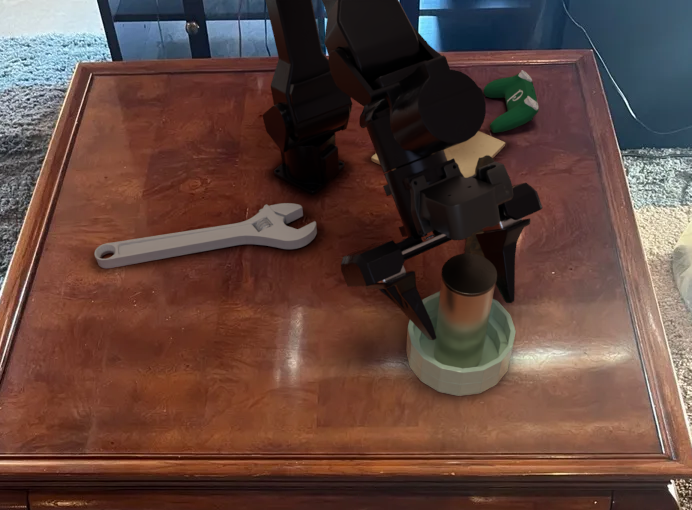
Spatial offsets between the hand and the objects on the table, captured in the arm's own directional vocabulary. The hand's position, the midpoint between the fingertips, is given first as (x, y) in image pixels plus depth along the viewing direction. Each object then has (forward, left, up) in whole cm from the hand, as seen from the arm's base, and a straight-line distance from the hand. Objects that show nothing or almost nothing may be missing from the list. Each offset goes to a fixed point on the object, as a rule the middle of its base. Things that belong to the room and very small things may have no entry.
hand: (472, 320), depth 75 cm
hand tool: (-9, +17, -7) cm, 20 cm away
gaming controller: (-17, +38, -7) cm, 42 cm away
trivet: (-20, +26, -7) cm, 33 cm away
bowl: (-1, +1, -7) cm, 7 cm away
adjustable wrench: (-33, -2, -7) cm, 34 cm away
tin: (-1, +1, -7) cm, 7 cm away
